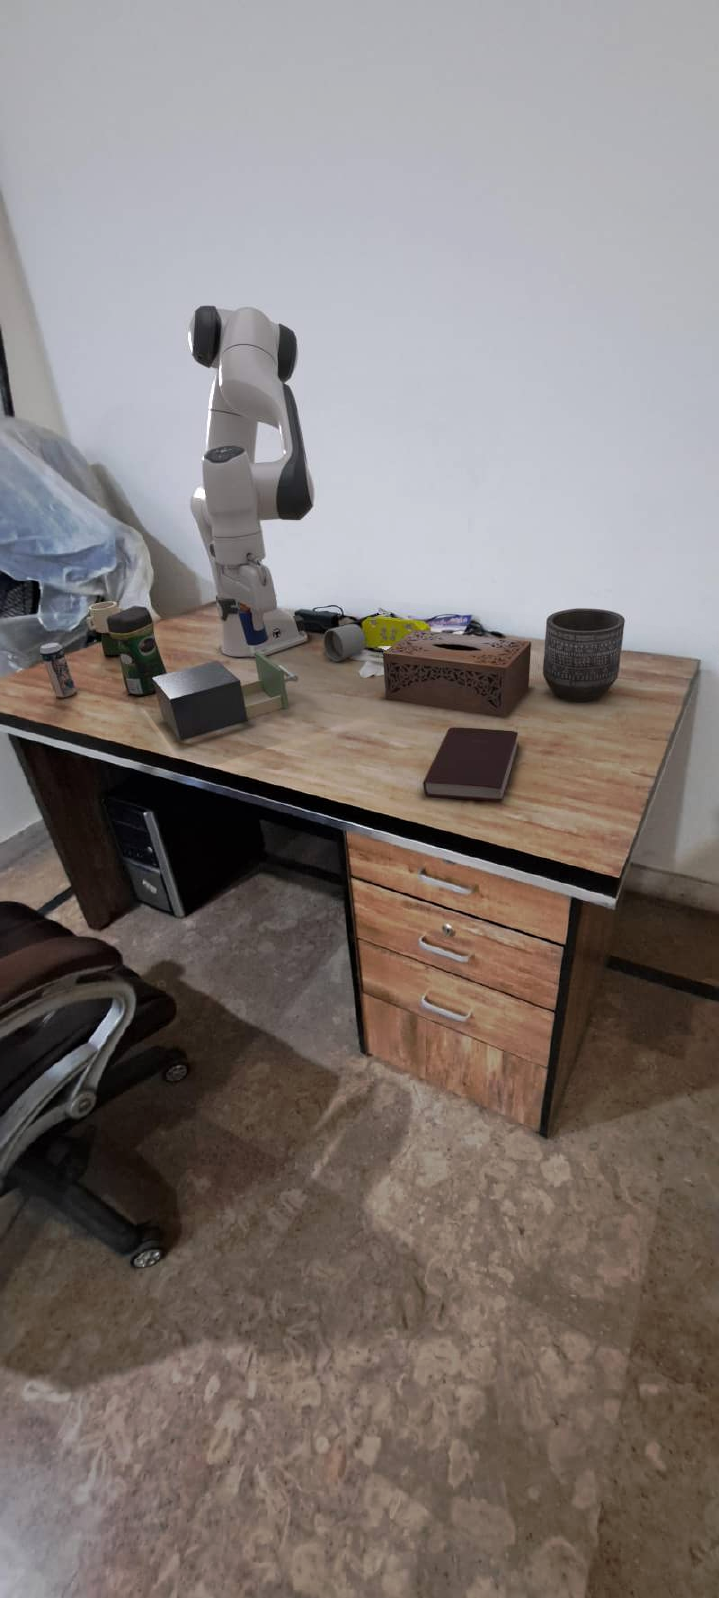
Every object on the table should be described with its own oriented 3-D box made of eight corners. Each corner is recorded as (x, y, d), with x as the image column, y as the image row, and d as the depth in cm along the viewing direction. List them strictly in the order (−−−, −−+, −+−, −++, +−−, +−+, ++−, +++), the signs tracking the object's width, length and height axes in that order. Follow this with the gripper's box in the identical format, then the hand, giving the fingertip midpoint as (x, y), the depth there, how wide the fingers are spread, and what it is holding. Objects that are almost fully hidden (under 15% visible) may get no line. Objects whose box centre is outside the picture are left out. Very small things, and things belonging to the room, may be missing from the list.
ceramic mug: (369, 654, 163) (367, 622, 159) (344, 664, 159) (341, 632, 155) (341, 646, 170) (337, 616, 166) (316, 656, 166) (312, 625, 162)
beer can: (69, 698, 156) (52, 648, 149) (51, 698, 157) (34, 649, 150) (81, 690, 160) (64, 641, 153) (63, 690, 161) (46, 641, 154)
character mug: (126, 644, 185) (112, 597, 178) (141, 648, 181) (128, 600, 174) (91, 658, 179) (76, 609, 172) (106, 662, 175) (91, 613, 168)
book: (422, 796, 108) (422, 779, 106) (448, 740, 123) (448, 724, 121) (501, 805, 104) (502, 787, 102) (518, 745, 119) (519, 729, 117)
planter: (528, 697, 135) (532, 624, 127) (563, 673, 144) (569, 603, 136) (594, 713, 127) (603, 637, 119) (628, 687, 135) (638, 614, 127)
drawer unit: (226, 704, 145) (217, 660, 140) (249, 727, 135) (240, 680, 129) (164, 722, 140) (151, 677, 135) (182, 747, 130) (170, 699, 124)
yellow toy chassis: (363, 650, 166) (360, 617, 161) (375, 642, 170) (372, 609, 165) (420, 658, 158) (419, 623, 154) (431, 650, 162) (430, 615, 158)
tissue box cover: (528, 688, 139) (531, 641, 134) (504, 717, 129) (506, 667, 123) (416, 673, 151) (414, 629, 145) (385, 698, 141) (382, 652, 135)
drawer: (282, 686, 150) (275, 646, 145) (308, 707, 139) (302, 663, 134) (205, 708, 143) (195, 666, 138) (226, 731, 133) (217, 687, 128)
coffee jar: (151, 678, 162) (130, 601, 152) (175, 683, 158) (155, 604, 148) (120, 694, 155) (97, 615, 145) (145, 699, 152) (122, 618, 142)
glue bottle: (262, 634, 132) (252, 597, 127) (271, 639, 128) (261, 602, 124) (243, 641, 130) (232, 605, 126) (251, 647, 127) (241, 609, 123)
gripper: (279, 555, 114) (290, 635, 121) (236, 538, 129) (248, 610, 136) (244, 562, 111) (257, 643, 118) (205, 544, 127) (219, 616, 134)
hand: (252, 625), depth 128 cm, fingers closed on glue bottle, 4 cm apart
